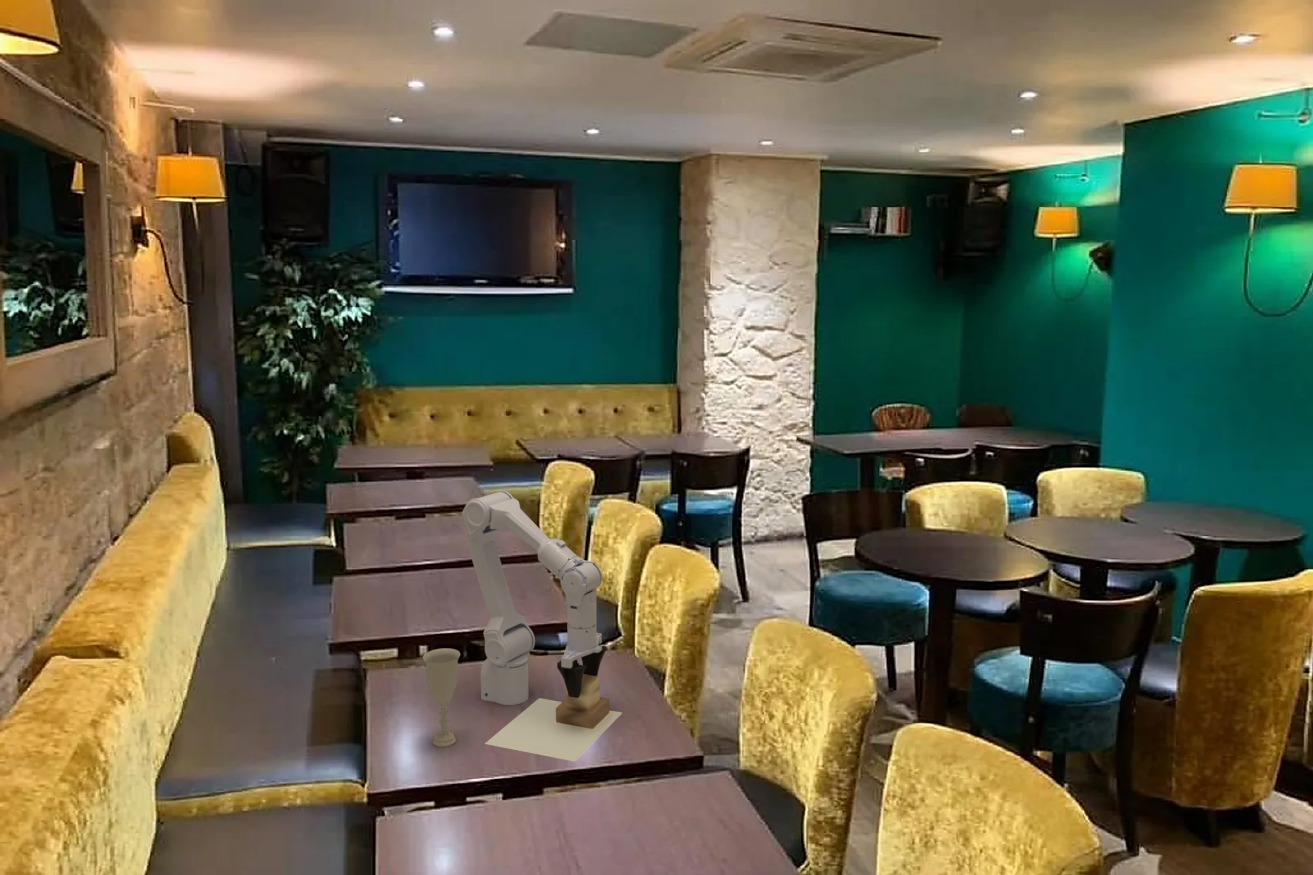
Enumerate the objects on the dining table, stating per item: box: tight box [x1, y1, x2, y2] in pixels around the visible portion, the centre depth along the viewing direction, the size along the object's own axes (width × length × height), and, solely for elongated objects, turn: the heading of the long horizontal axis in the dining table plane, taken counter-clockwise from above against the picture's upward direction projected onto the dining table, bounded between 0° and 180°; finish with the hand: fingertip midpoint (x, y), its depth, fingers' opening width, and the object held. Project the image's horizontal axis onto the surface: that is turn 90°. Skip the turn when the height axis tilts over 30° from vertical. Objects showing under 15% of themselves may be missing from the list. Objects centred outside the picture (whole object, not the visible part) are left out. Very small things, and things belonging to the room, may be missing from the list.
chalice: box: [422, 647, 461, 748], centre depth 189 cm, size 7×7×18 cm
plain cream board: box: [484, 697, 623, 763], centre depth 196 cm, size 19×22×1 cm
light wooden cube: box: [565, 674, 601, 710], centre depth 200 cm, size 5×5×5 cm
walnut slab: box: [556, 696, 610, 729], centre depth 200 cm, size 8×8×3 cm
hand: (582, 689), depth 200 cm, fingers open, 7 cm apart
